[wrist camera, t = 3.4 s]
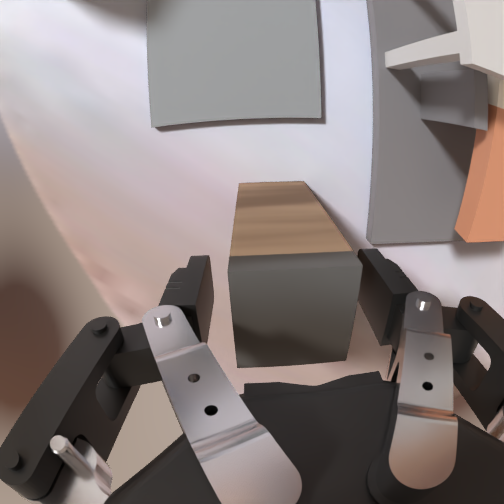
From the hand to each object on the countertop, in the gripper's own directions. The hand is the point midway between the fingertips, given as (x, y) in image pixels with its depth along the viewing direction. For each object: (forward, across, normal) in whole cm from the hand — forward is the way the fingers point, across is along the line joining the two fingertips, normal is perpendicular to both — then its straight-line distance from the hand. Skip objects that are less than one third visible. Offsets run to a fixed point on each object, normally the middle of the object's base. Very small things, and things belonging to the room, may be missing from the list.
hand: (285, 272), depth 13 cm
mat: (+8, +2, -11) cm, 14 cm away
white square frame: (+8, -14, -8) cm, 18 cm away
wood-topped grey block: (+8, 0, 0) cm, 8 cm away
